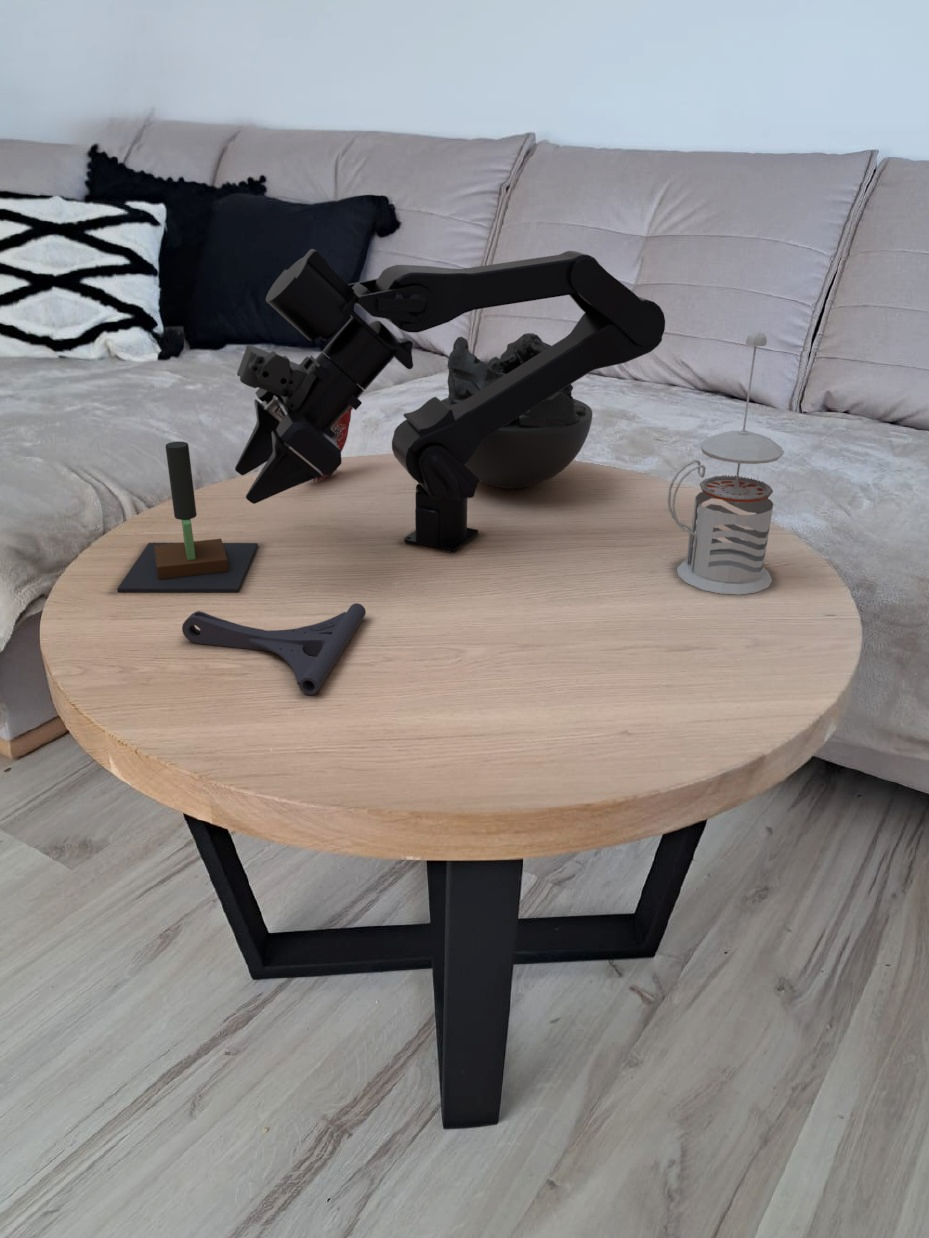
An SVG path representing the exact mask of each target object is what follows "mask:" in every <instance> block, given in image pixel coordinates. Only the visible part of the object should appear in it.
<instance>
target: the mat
mask: <svg viewBox="0 0 929 1238" xmlns="http://www.w3.org/2000/svg"><path fill="white" fill-rule="evenodd" d="M174 543H175V542H148V543H147V544H146V545H145V547H144V549H143V550H142V552H141V553H140V555H139V556H138V558H137V559H136V560H135V562H134V563H133V565H132V566H131V568H130V569H129V571H128V572H127V573H126V575H125V576H124V578H123V579H122V580H121V582H120V583H119V585H118V586H117V588H116V590H117V593H239V591H240V589H241V587H242V585H243V581H244V580H245V578H246V575H247V572H248V570H249V568H250V566H251V563H252V561H253V559H254V556H255V554H256V552H257V549H258V547H259V544H258V542H222V543H223V547H224V550H225V554H226V557H227V562H228V572H219V573H211V574H202V575H193V576H185V577H176V578H167V579H158V572H157V565H156V557H155V549H154V546H156V545H165V544H174Z"/></svg>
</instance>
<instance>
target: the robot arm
mask: <svg viewBox="0 0 929 1238" xmlns="http://www.w3.org/2000/svg"><path fill="white" fill-rule="evenodd" d="M564 296H569V297H570V299H571V300H573V302H574V303H575V304H576V306H578V308H579V309H580V310H581V311H583V314H582V315H581V317H580V319H579V320H578V321H577V323H576V324H575V326H574V327H573V329H572V330H571V332H569V333H568V335H566V336H565V337H563V338H561V339H560V340H558V341H557V342H556V343H554V344H552V345H551V347H549V348H547V349H546V350H544V351H543V352H541V353H539V354H538V355H536V356H535V357H533V358H531V359H530V360H528V361H527V362H525V363H523V364H522V365H520V366H519V367H517V368H515V369H514V370H512V371H511V372H509V373H507V374H506V375H504V376H503V377H501V378H499V379H498V380H496V381H495V382H493V383H491V384H490V385H488V386H487V387H485V388H483V389H482V390H480V391H479V392H477V393H475V394H474V395H472V396H471V397H469V398H467V399H466V400H464V401H462V402H460V403H457V404H453V405H449V406H446V405H445V404H444V403H443V402H442V401H441V400H440V398H438V397H437V396H433V397H431V398H430V399H428V400H427V401H425V403H424V404H422V405H421V406H420V407H419V408H417V409H416V410H413V411H411V412H410V411H409V412H405V413H403V417H404V420H403V421H402V422H400V424H399V425H397V426H396V427H395V429H394V431H393V436H392V439H391V450H392V453H393V455H394V458H395V459H396V460H397V462H398V463H400V465H401V466H402V467H403V468H404V470H405V471H406V472H407V473H408V474H409V475H410V477H412V479H413V480H414V481H416V482H417V484H416V485H415V509H414V515H415V516H414V520H415V523H414V524H415V525H414V527H415V529H414V531H412V532H411V533H409V534H408V535H406V536H405V537H404V538H403V542H404V543H405V544H408V545H413V546H419V547H423V548H427V549H433V550H437V551H442V552H447V553H457V551H459V550H460V549H461V548H463V547H464V546H466V545H467V544H468V543H470V542H471V541H473V540H474V539H475V538H476V537H478V536H479V529H476V528H471V527H468V499H471V498H474V496H475V493H476V491H477V488H478V485H479V482H480V481H479V479H478V478H477V477H476V476H475V475H474V474H473V473H472V472H471V471H470V470H469V469H468V468H467V467H466V466H465V465H464V464H466V463H467V462H468V461H469V459H470V458H471V457H472V455H473V454H474V452H475V451H476V449H477V448H478V446H479V445H480V444H481V442H482V441H483V440H484V439H485V438H486V437H487V436H489V435H490V434H492V433H494V432H495V431H497V430H498V429H500V428H502V427H503V426H505V425H506V424H508V423H510V422H511V421H513V420H514V419H516V418H518V417H519V416H521V415H522V414H524V413H526V412H527V411H529V410H530V409H532V408H534V407H535V406H537V405H538V404H540V403H542V402H543V401H545V400H546V399H548V398H549V397H551V396H553V395H554V394H556V393H557V392H559V391H561V390H562V389H564V388H565V387H567V386H569V385H570V384H571V385H572V384H573V383H575V382H577V381H579V380H580V379H582V378H583V377H584V376H587V375H588V374H589V373H591V372H593V371H596V370H599V369H603V368H607V367H613V366H617V365H618V366H619V365H621V364H625V363H629V362H630V361H632V360H635V359H637V358H640V357H643V356H644V355H647V354H649V353H651V352H653V351H654V350H656V349H657V348H658V347H659V346H660V344H661V343H662V341H663V336H664V334H665V330H666V318H665V314H664V312H663V309H662V308H661V306H660V305H658V304H657V303H656V302H655V301H652V300H649V299H646V298H643V297H642V296H641V297H640V296H638V295H637V294H635V293H634V292H633V291H632V290H631V289H630V288H628V287H627V286H626V285H624V284H623V283H622V282H621V281H620V280H618V279H617V278H616V277H614V276H613V275H612V274H611V273H609V272H608V271H607V270H606V269H605V268H604V267H603V266H602V265H601V264H600V263H599V261H598V260H597V259H596V258H595V257H594V256H592V255H589V254H587V253H583V252H580V251H576V250H567V251H564V252H562V253H560V254H553V255H549V256H541V257H534V258H528V259H521V260H520V259H519V260H513V261H505V262H499V263H493V264H486V265H485V264H484V265H478V266H472V267H466V268H451V267H450V268H448V267H441V266H430V265H417V264H416V265H415V264H414V265H413V264H394V265H391V266H389V267H387V268H385V269H384V270H382V271H381V273H380V275H379V276H378V277H377V278H372V279H367V280H363V281H356V282H352V283H348V282H346V281H345V280H344V279H343V278H342V277H341V276H340V275H339V274H338V273H337V272H336V271H335V270H334V269H333V268H332V267H331V266H330V265H329V263H328V261H327V260H326V259H325V257H324V256H322V255H321V254H320V253H319V252H318V251H317V250H316V249H314V248H310V249H309V250H308V252H307V253H305V255H304V256H303V257H301V258H299V259H298V260H297V261H296V262H294V263H293V264H292V265H290V267H289V268H288V269H284V270H283V271H282V273H281V274H279V276H278V277H277V279H276V280H275V281H274V283H272V285H271V287H270V289H269V290H268V292H267V294H266V296H265V302H266V303H267V304H269V305H270V306H271V307H272V308H273V309H274V310H275V311H276V312H277V313H278V314H280V316H281V317H283V318H284V319H285V320H286V321H287V322H288V323H289V324H291V325H292V326H293V327H294V329H296V330H297V331H298V332H299V333H300V334H302V335H303V336H304V337H305V339H307V340H308V341H311V342H312V341H315V340H317V339H318V338H321V339H322V340H323V341H328V340H330V339H331V340H330V341H329V342H328V344H327V345H326V346H325V347H324V349H322V351H321V352H320V353H319V354H318V355H317V356H316V357H314V356H313V355H310V356H308V355H307V356H306V357H305V358H304V359H303V360H302V361H301V362H300V363H299V364H298V363H296V362H294V361H291V360H290V359H289V357H288V356H287V355H280V354H279V353H277V352H276V351H275V350H272V351H267V350H265V349H262V348H259V347H258V346H257V347H256V346H254V345H251V344H247V345H246V346H245V350H244V353H243V356H242V359H241V361H240V364H239V366H238V370H237V373H236V375H237V376H238V377H239V381H240V382H241V383H242V384H244V385H246V386H248V387H250V388H254V389H257V388H258V389H257V390H256V391H255V395H256V397H257V399H258V400H257V399H256V398H255V399H254V400H253V403H254V408H255V416H256V423H255V426H254V428H253V430H252V432H251V433H250V436H249V438H248V440H247V442H246V444H245V446H244V448H243V451H242V453H241V455H240V457H239V458H238V461H237V463H236V465H235V468H234V470H235V472H236V473H238V474H239V475H240V476H245V475H246V474H248V473H251V472H252V471H254V470H255V469H257V468H259V467H261V466H262V465H264V466H263V467H262V469H261V470H260V472H259V474H258V475H257V476H256V478H255V480H254V481H253V483H252V484H251V486H250V488H249V490H248V491H247V493H246V494H245V499H246V500H247V501H249V503H251V504H253V505H256V504H258V503H260V502H263V501H264V500H267V499H269V498H271V497H274V496H275V495H278V494H280V493H283V492H285V491H287V490H289V489H292V488H294V487H297V486H300V485H302V484H304V483H308V482H309V481H313V480H314V479H315V478H316V479H320V478H322V477H323V475H322V473H323V474H325V475H326V476H327V477H326V478H330V477H331V476H332V475H333V474H334V472H336V471H337V470H338V468H339V467H340V466H341V465H342V451H341V450H340V449H339V447H338V446H337V444H336V443H335V442H334V440H332V439H331V438H332V437H333V436H334V435H335V432H334V431H333V429H332V427H333V426H334V425H335V424H336V423H337V422H338V421H339V419H340V418H341V417H342V416H343V415H344V414H345V413H346V411H347V410H348V409H349V408H350V407H352V408H353V410H355V411H357V410H358V409H359V407H361V405H362V404H363V402H362V401H361V400H360V396H361V395H363V394H364V393H365V391H366V390H367V389H368V388H369V386H370V385H371V384H372V383H373V382H374V381H375V380H376V378H377V377H379V375H380V374H381V373H382V372H383V371H384V369H385V368H386V367H387V366H388V364H390V362H391V361H392V360H393V359H395V360H396V361H397V362H399V363H400V364H401V365H402V366H403V367H405V368H406V369H407V370H412V369H413V368H414V360H413V346H414V343H413V341H412V340H411V339H409V338H408V337H401V338H398V337H397V336H396V335H395V333H393V332H392V331H391V330H390V329H389V328H388V327H387V326H386V325H385V324H383V322H382V321H380V320H374V321H372V322H370V323H368V322H366V321H365V320H364V319H363V318H362V317H361V316H360V315H359V314H358V313H357V312H356V311H355V310H353V309H352V308H353V307H354V306H355V305H357V306H358V307H359V308H360V309H362V310H363V311H364V312H366V313H367V314H368V315H370V316H371V317H374V318H380V319H385V320H387V321H388V322H389V323H391V324H392V325H394V326H395V327H397V328H398V329H399V330H401V331H403V332H406V333H423V332H424V331H427V330H431V329H433V328H436V327H439V326H441V325H444V324H447V323H450V322H452V321H453V320H455V319H456V318H458V317H460V316H462V315H464V314H467V313H470V312H472V311H475V310H481V309H487V308H493V307H494V308H495V307H499V306H501V307H502V306H508V305H513V304H520V303H527V302H532V301H539V300H545V299H552V298H556V297H557V298H558V297H564ZM259 400H260V401H259ZM336 469H337V470H336ZM335 470H336V471H335ZM320 471H321V472H322V473H321V472H320ZM316 479H315V480H316ZM322 479H323V478H322ZM320 480H321V479H320Z"/></svg>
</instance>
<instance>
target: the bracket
mask: <svg viewBox="0 0 929 1238" xmlns="http://www.w3.org/2000/svg"><path fill="white" fill-rule="evenodd" d="M366 613H367V611H366V608H365V607H364V605H362V604H361V603H356V602H355V603H353V604H351V605H350V607H349V608H348V609H347V611H343V612H341V613H339V614H337V615H335V616H333V617H331V618H329V619H326V620H322V621H320V622H317V623H314V624H309V625H305V626H300V627H297V628H288V629H287V628H286V629H277V630H265V629H261V628H258V627H257V628H256V627H251V626H246V625H242V624H238V623H236V622H232V621H229V620H226V619H223V618H220V617H217V616H214V615H212V614H209V613H206V612H204V611H201V610H197V611H194V612H192V613H191V614H190V615H189V616H188V617H187V618H186V619H185V621H183V623H182V626H181V631H182V635H184V637H185V638H186V639H187V640H188V641H190V642H191V643H194V644H199V645H206V646H207V645H208V646H218V647H226V648H235V649H236V648H238V649H247V650H255V651H265V652H272V653H274V654H276V655H277V656H280V657H281V658H282V659H283V660H284V661H285V662H286V663H287V664H288V665H289V667H290V668H291V670H292V671H293V674H294V676H295V681H296V685H297V686H298V687H299V690H300V691H301V692H302V693H304V694H305V695H309V696H312V695H316V694H317V693H318V691H319V689H321V686H323V684H324V682H325V680H326V679H327V678H328V675H329V674H330V672H331V671H332V669H333V667H334V666H335V664H336V663H337V661H338V660H339V658H340V656H341V655H342V653H343V652H344V651H345V648H346V647H347V645H348V643H349V642H350V640H351V639H352V637H353V635H354V634H355V632H356V630H357V629H358V628H359V626H360V624H361V622H362V621H363V620H364V618H365V617H366Z"/></svg>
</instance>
